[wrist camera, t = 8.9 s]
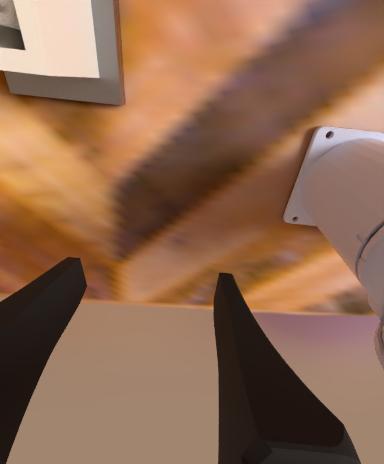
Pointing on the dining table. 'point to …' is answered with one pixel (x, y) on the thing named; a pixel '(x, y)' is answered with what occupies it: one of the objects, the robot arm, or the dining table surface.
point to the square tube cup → (51, 39)
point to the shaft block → (78, 88)
